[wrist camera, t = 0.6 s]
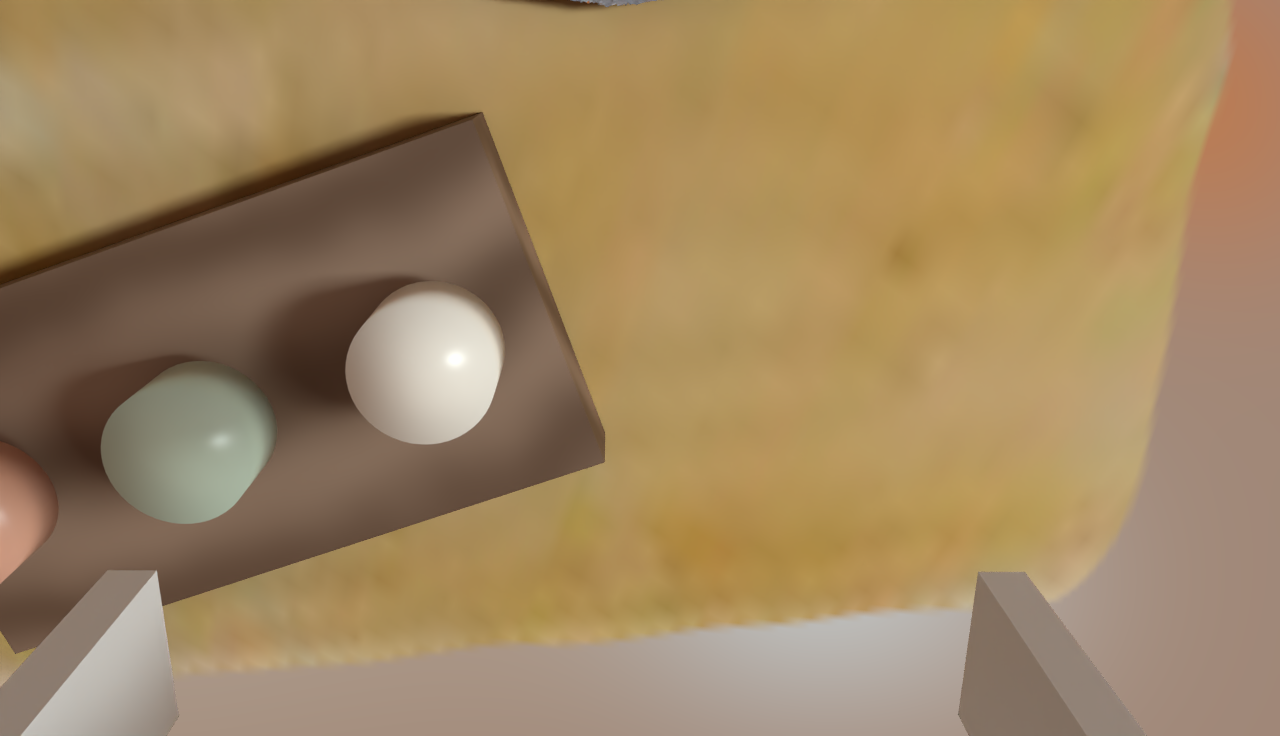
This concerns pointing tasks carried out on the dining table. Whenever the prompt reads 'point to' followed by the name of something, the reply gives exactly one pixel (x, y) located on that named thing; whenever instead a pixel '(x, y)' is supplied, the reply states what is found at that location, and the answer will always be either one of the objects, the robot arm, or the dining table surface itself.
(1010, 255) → the dining table surface
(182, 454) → the sage button
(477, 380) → the cream button
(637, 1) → the food plate
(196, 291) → the button board
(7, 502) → the terracotta button
